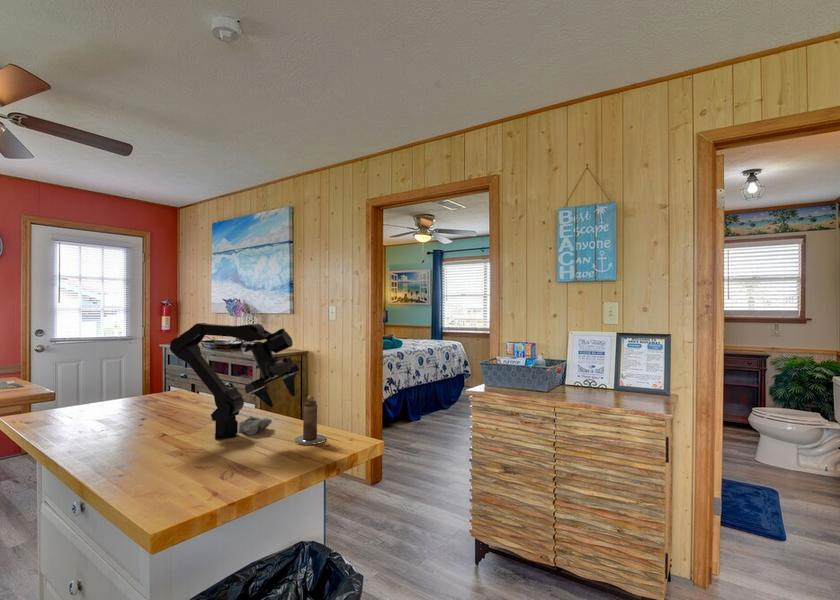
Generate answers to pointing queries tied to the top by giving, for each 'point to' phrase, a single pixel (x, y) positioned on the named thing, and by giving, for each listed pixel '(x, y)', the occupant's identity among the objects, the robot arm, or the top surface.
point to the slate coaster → (301, 441)
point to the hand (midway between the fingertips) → (283, 401)
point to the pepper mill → (310, 419)
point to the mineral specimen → (253, 425)
